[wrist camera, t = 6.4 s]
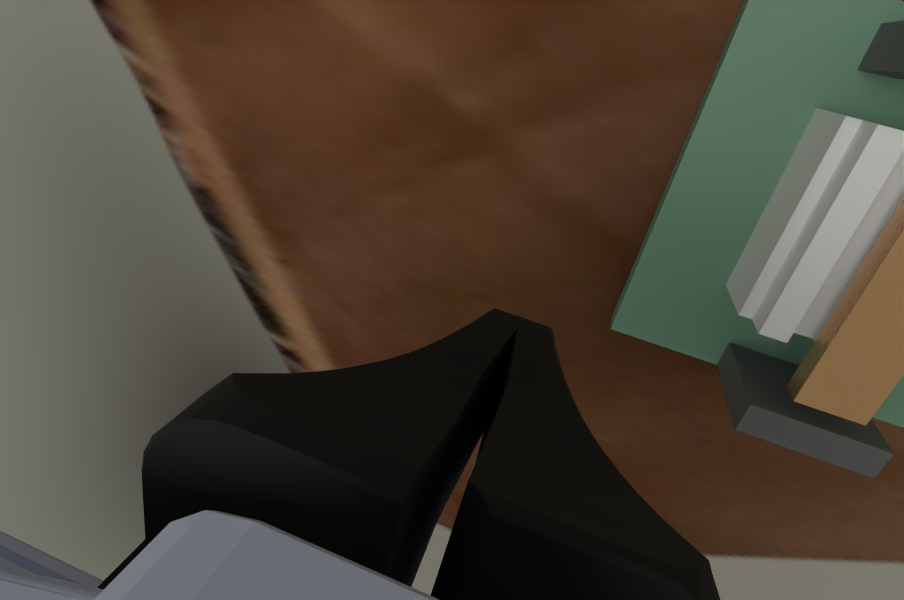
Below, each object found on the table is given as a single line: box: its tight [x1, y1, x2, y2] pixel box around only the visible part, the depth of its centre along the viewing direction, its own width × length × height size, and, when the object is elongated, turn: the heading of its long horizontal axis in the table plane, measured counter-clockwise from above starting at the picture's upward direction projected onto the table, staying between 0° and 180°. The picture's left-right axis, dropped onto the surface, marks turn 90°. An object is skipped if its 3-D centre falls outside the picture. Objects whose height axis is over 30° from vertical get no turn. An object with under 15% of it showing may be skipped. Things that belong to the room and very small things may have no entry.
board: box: [611, 0, 904, 479], centre depth 15 cm, size 12×12×6 cm
